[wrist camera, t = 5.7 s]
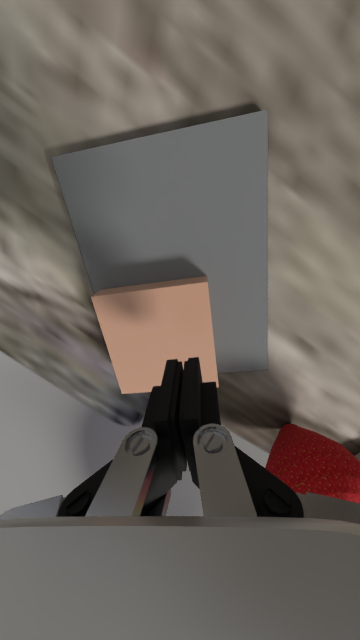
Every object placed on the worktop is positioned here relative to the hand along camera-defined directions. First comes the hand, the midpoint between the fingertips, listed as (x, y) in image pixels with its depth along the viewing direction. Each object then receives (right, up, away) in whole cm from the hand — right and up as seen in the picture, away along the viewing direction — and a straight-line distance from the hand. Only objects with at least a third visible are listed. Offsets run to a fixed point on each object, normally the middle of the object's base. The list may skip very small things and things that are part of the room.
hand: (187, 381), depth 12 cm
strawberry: (+9, -6, +9) cm, 15 cm away
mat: (-1, +6, +4) cm, 7 cm away
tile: (+2, +2, +4) cm, 5 cm away
